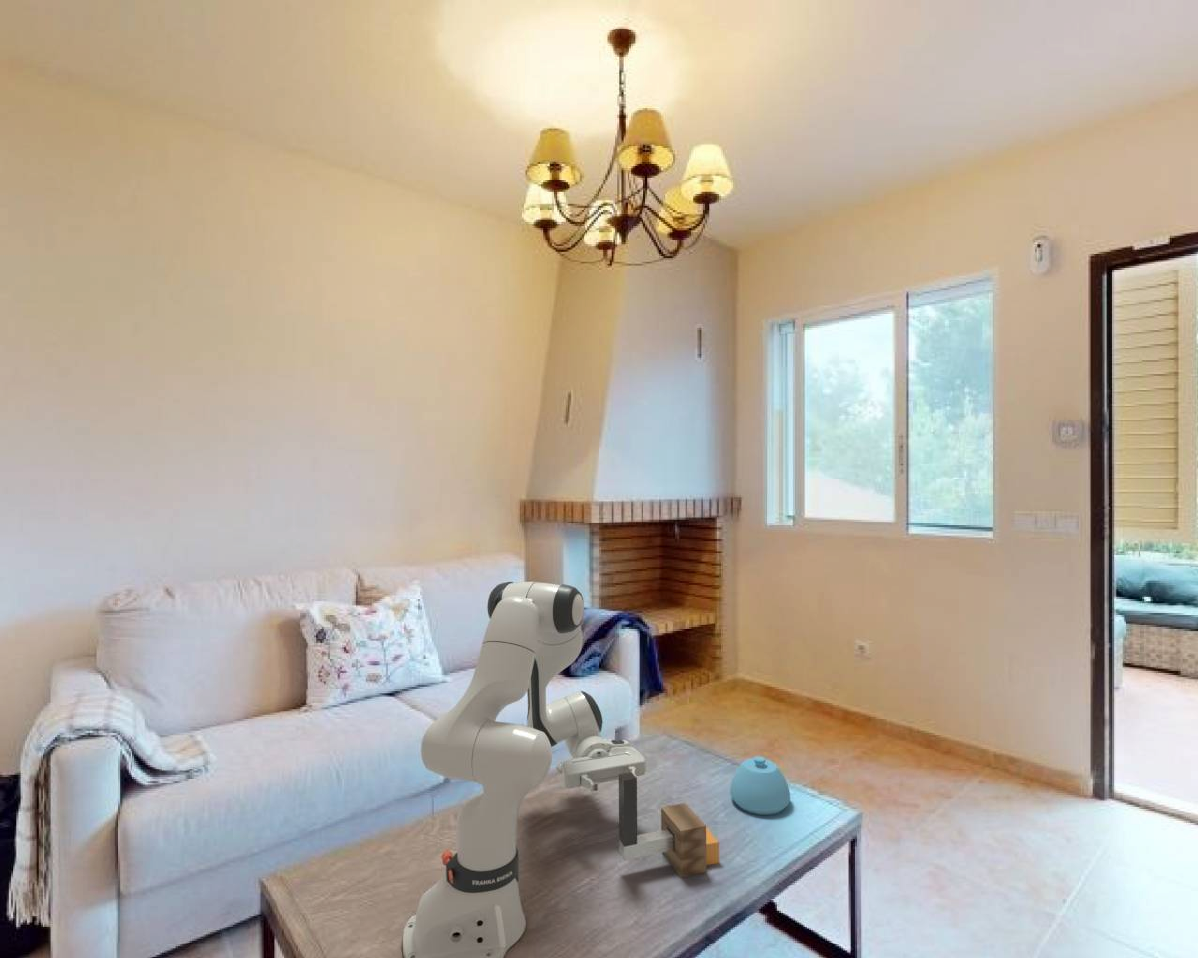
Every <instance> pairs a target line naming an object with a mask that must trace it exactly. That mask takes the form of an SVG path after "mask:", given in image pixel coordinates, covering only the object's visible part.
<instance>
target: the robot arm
mask: <svg viewBox="0 0 1198 958" xmlns="http://www.w3.org/2000/svg"><path fill="white" fill-rule="evenodd" d="M584 602H585V601H584V597H583V595H582V593H581V592H580V590H578V589H577V587H574V586H572V585H568V584H565V583H564V584H561V585H560V584H557V583H548V582H539V581H521V582H519V581H518V582H513V581H506V582H502V583H499V584H497V585H496V586H495V587H494V588H493V589H492V590H491V592H490V594H489V596H488V599H487V615H488V617H489V621H488V624H487V627H486V630H485V633H484V637H483V640H482V642H481V648H480V651H479V655H478V658H477V662H476V667H475V669H474V672H473V675H472V679H471V681H470V683H469V685H468V687H467V689H466V691H465V693H463V696H462V697H461V698H460V699H459V700H458V702H457V703H455V705H454V706H453V707H452V708H451V709H450V710H449V711H448V712H447V713H445V714H444V715H443V716H440V717H439V718H438V719H436V720H434V721H433V722H432V723H431V724H430V725H429V727H427V730H426V731H425V733H424V734H423V736H422V740H421V743H420V744H421V745H420V756H421V760H422V764H423V765H424V767H425V768H426V770H428V771H429V772H432V773H433V774H437V775H439V776H441V777H443V778H445V779H448V780H449V779H450V780H456V781H464V782H469V783H470V782H471V783H477V784H479V785H481V787H482V789H483V790H482V791H483V792H482V793H481V794H479V795H476V796H474V797H473V798H471V799H470V800H469V801H468V800H467V802H466V803H464V805H463V806H462V807H461V809H460V810H459V813H458V816H457V819H456V853H455V854H454V855H453V853H452V851H451V850H445V851H443V853H442V854H441V860H442V865H444V866H445V875H444V876H443V877H442V878H441V879H439V880H438V881H437V882H436V883H435V884H433V885H432V886H431V887H429V889H427V890H426V891H425V892H424V893H423V895H422V896H421V898H420V900H419V902H418V904H417V905H418V906H417V908H416V914H414V915H412V916H411V917H410V918H409V919H408V920H407V922H406V924H405V926H404V929H403V934H402V953H403V958H504V957H505V955H506V953H507V951H508V950H509V949H510V948H511V947H512V946H513V945H515V944H516V943H517V942H518V940H520V939H521V937H522V935H523V934H524V932H525V929H526V925H527V922H526V917H525V914H524V910H523V907H522V901H521V897H520V888H519V880H520V879H519V877H520V853H519V850H518V846H517V829H518V817H519V816H518V813H519V810H520V807H521V804H522V803H523V800H524V799H525V797H526V796H527V795H528V794H529V792H530V791H532V790H533V789H534V788H536V787H538V786H539V785H540V784H542V782H543V781H544V780H545V778H546V777H547V776H548V774H549V772H550V769H551V766H552V763H553V762H552V761H553V749H552V748H553V747H554V746H556V745H558V744H559V743H561V742H564V743H565V746H566V748H567V750H568V752H569V754H570V756H571V757H572V758H569V759H565V760H563V761H561V762H560V764H556V767H555V768H556V770H557V772H558V773H559V774H561V780H562V782H563V785H564V787H565V788H567V789H575V788H580V787H583V788H586V789H589V790H590V792H596V791H598V790H599V788H598V785H599V784H601V783H606V782H612V781H619V774H624V773H630V772H632V773H633V774H634V776H635V777H636V778H637V779H638V777H641V776H644V775H645V774H646V772H647V763H646V762H647V761H646V758H645V757H644V756H643V755H642V754H641V752H639V751H638V749H636V748H635V747H633V746H630V742H629V741H628V740H626V739H608V738H603V737H601V735H600V733H601V732H602V728H603V722H604V721H603V716H602V713H601V710H600V707H599V706H598V704H597V702H596V700H595V699H594V697H593V696H592V695H591V694H589V693H587V692H585V691H583V690H578V691H576V692H574V693H573V692H572V693H571V694H569V695H566V696H564V697H563V698H559V699H557V700H555V701H552V702H549V703H548V704H547V687H548V685H549V683H550V682H551V681H552V680H553V679H554V678H555V677H556V676H557V675H558V674H560V673H561V672H562V671H564V670H565V669H566V668H568V667H569V666H570V665H572V664H573V663H574V662H575V661H576V659H578V657H579V655H580V654H581V652H582V649H583V643H584V642H583V631H582V626H581V624H582V622H583V618H584V611H585V603H584ZM526 694H527V716H526V717H527V718H526V725H525V724H522V723H512V722H505V721H504V722H503V721H496V720H497V718H498V716H499V714H500V713H501V712H502V710H504V709H505V708H506V707H508V706H509V705H511V704H514V703H517V702H519V701H520V700H522V698H523V697H525V695H526Z"/></svg>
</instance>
